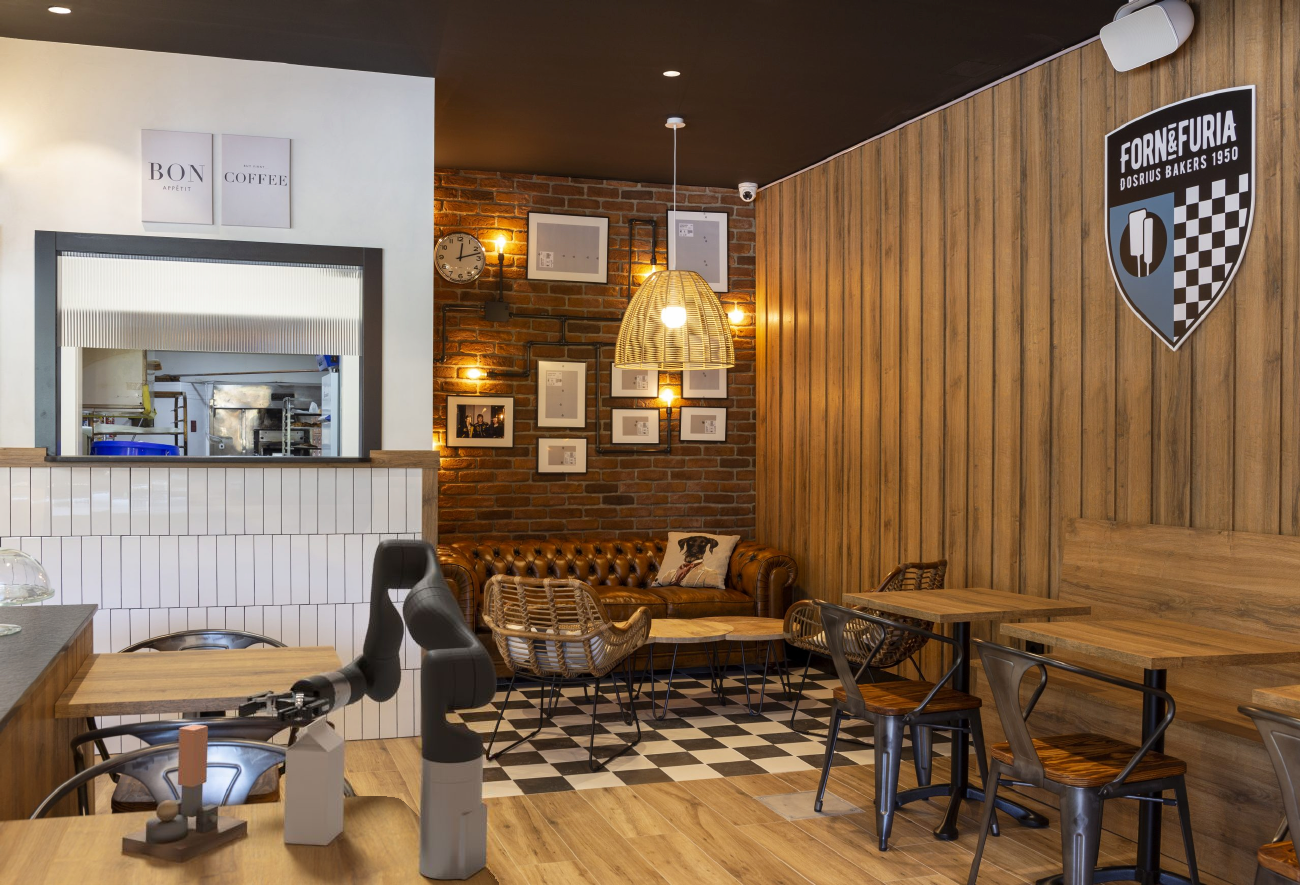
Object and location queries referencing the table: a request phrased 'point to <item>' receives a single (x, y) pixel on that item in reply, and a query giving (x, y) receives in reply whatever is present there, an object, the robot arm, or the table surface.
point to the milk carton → (314, 785)
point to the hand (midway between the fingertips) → (259, 714)
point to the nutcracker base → (189, 842)
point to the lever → (192, 767)
